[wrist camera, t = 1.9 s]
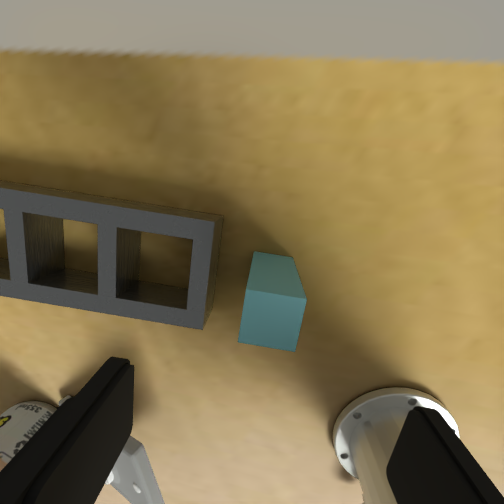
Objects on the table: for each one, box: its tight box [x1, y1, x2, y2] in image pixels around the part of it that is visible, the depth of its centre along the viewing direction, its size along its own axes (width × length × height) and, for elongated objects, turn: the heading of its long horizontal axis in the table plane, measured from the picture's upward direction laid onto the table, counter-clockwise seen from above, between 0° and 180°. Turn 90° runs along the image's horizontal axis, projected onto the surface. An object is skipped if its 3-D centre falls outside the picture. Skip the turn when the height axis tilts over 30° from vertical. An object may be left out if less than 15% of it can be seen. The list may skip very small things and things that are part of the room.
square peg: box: [238, 251, 307, 352], centre depth 20 cm, size 4×4×9 cm
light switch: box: [59, 395, 165, 504], centre depth 27 cm, size 8×6×14 cm
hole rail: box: [0, 180, 224, 330], centre depth 23 cm, size 9×24×4 cm, turn 81°
